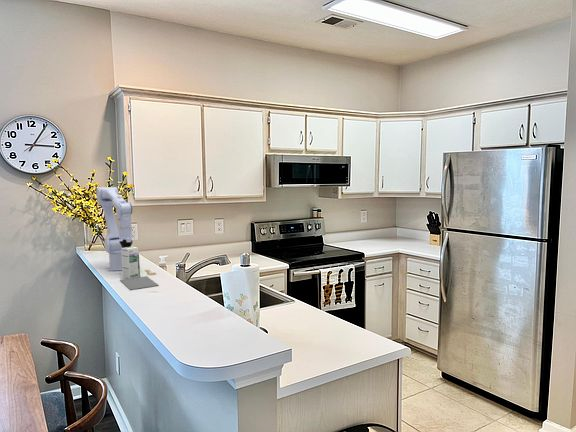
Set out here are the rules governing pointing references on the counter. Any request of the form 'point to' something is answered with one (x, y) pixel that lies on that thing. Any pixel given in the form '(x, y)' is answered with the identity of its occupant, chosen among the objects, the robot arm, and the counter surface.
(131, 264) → the syrup box
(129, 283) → the mat
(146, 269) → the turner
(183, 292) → the counter surface
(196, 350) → the counter surface
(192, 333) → the counter surface
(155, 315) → the counter surface
